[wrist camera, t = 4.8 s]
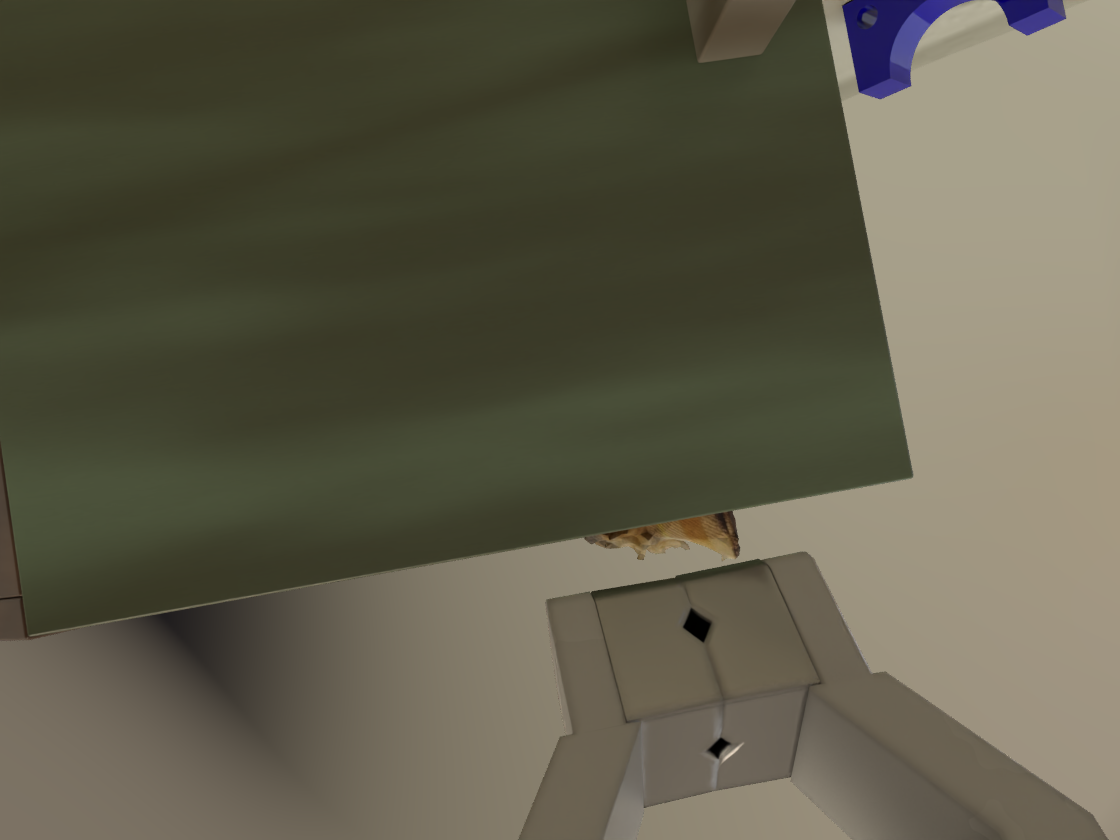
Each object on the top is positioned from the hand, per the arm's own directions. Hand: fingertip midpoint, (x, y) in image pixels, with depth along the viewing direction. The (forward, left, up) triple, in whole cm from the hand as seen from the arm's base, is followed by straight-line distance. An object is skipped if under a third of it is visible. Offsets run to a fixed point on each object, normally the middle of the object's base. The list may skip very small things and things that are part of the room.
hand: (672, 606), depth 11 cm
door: (+2, +8, -20) cm, 22 cm away
